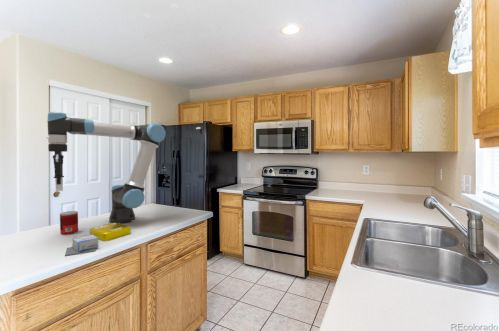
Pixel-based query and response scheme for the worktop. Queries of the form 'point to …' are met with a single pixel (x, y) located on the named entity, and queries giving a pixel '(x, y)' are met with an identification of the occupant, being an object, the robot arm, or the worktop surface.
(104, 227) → the element tile
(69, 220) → the canned food
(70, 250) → the mat
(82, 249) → the medicine box
